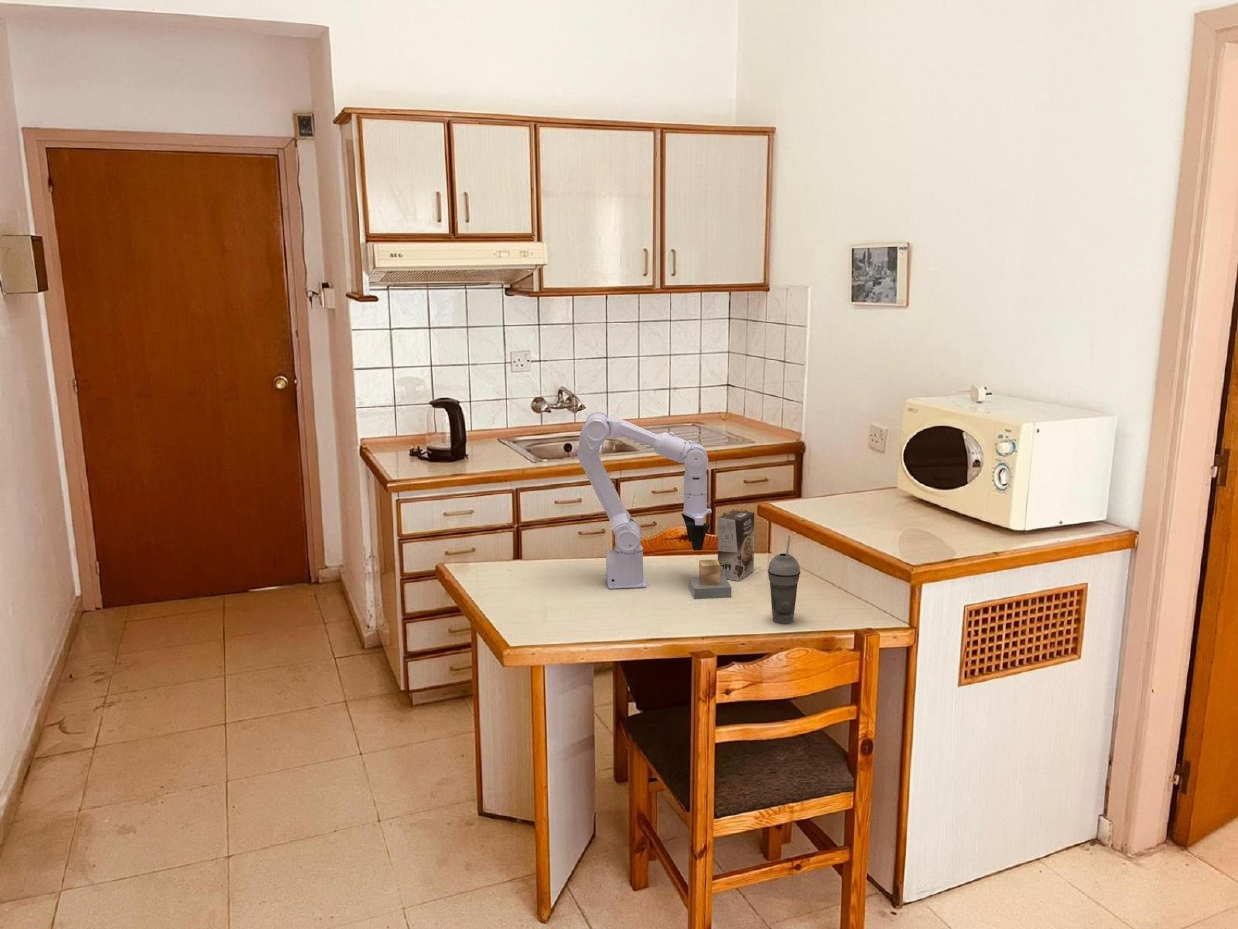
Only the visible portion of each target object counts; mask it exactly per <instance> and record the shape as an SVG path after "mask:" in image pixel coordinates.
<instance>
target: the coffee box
mask: <svg viewBox="0 0 1238 929" xmlns="http://www.w3.org/2000/svg"><path fill="white" fill-rule="evenodd" d="M717 518H718V519H717V524H718V525H717V528H718V529H717V560H718V562H719V564H720V576H725V577H726V579H727V580H729V581H730V580H731V581H735V582H740V581H741V580H743V579H745V578H746V577H747V576H749V575H751V574H753V573H754V572H755V571H754V570H755V568H754V567H755V512H752V511H744V510H734V509H733V510H731V511H728V512H727V513H725V514H723V515H720V516H718V517H717Z"/></svg>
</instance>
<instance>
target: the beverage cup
mask: <svg viewBox="0 0 1238 929" xmlns="http://www.w3.org/2000/svg"><path fill="white" fill-rule="evenodd" d="M786 542H787V544H786V550H785V551H786V552H785V553H784V552H783V553H779V554H776V555H775V556H773V557H772V559H771V560H770V562H769V565H768V569H767V573H768V579H769V587H770V590H769V591H770V602H771V614H772V621H773V622H774V623H776V624H778V625H789V624H790V625H791V624H792V623H793V622H794V616H795V608H796V602H797V601H796V600H797V592H798V582H799V579H800V575H801V569H800V568H801V567H800V564H799V561H798V560H797V559H796V558H795V557H794V556H793V555H791V554H789V550H790V544H791V543H790V542H791V535H788V536H787V541H786Z"/></svg>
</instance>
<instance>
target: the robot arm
mask: <svg viewBox="0 0 1238 929" xmlns="http://www.w3.org/2000/svg"><path fill="white" fill-rule="evenodd" d="M609 436H610V440H613V439H617V438H621V437H622V438H623V437H624V438H626V439H629V440H633V441H635V442H638V443H641V444H644V445H646V446H649V447H651V448H653V450H654V452H655V454H656V455H659V456H661V457H664V458H665V459H669V460H671V461H673V462H677V463H679V464H684V474H683V509H682V513H681V517H682V518H683V521H684V524H685V527H686V534H687V539H688V542H691V546H692V550H693V551H697V552H698V551H702V550H703V546H704V544H705V543H704V542H705V539H706V538H705V537H706V535H707V532H708V530H709V528H710V526H711V525H710V523H709V522H704V518H706V516H707V515H709V514H712V508H708V474H707V471H708V469H707V468H708V467H707V466H708V463H709V457H708V453H707V450H706V448H705V447H704V446H703V445H702V444H700V443H699V442H696V441H695V442H694V441H693V440H691V439H688V440H686V439H683V438H680V437H679V436H675V432H672V431H669V432H665V431H664V432H662V433H659V434H657V433H654V432H653V431H649V430H647V429H645V428H643V427H641V426H638V425H636V424H634V423H631V422H629V421H627V420H625V419H622V418H620V417H618V416H615V415H612V414H608V415H607V414H606V413H604V412H601V411H596V412H593V413H591V414H589V415H588V416H587V418H586V420H585V422H584V424H583V425H582V428H581V431H580V432H579V440H578V446H577V447H578V449H577V460H578V462H579V463H580V465H581V467H582V469H583V471H584V473H585V475H586V476H587V479H588V481H589V482H590V484H591V486H592V488H593V490H594V493H595V495H596V496H597V498H598V500H599V502H600V504H601V506H602V508H603V510H604V512H605V514H606V516H607V518H608V520H609V523H610V526H611V529H612V531H613V534H614V537H615V538H614V542H615V545H614V547H613V549H610V550H609V549H608V550H606V551H605V561H606V564H605V566H606V569H605V570H606V571H605V580H606V583H607V588H608V589H610V590H612V589H614V590H615V589H633V588H647V582H646V580H645V577H644V552H643V551H644V546H642V544H641V541H642V540H641V535H642V527H641V526H640V524H639V523H638V522H637V521H636V520H635V519H634V518H633V517H632V515H631V514H630V512H629V511H628V510H627V509H626V507H625V504H624V503H623V501H622V499H621V497H620V495H619V493H618V490H616V487H615V484H613V482H612V479H611V478H610V475H609V473H608V471H607V469H606V467H605V466H604V464H603V462H602V460H601V458H600V456H599V453H600V450H601V446H602V445H603V444H604V443H605V441H606V440H607V439H608V437H609Z"/></svg>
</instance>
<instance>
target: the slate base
mask: <svg viewBox="0 0 1238 929" xmlns="http://www.w3.org/2000/svg"><path fill="white" fill-rule="evenodd" d="M688 588H689V590H690V592H691V594H692V597H693V599H694V600H697V599H698V600H701V599H722V598H732V586H731V584H730V582H729V581H728V579H726V577H725V576H720V585H701V582H700V580H699V576H689V577H688Z"/></svg>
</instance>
